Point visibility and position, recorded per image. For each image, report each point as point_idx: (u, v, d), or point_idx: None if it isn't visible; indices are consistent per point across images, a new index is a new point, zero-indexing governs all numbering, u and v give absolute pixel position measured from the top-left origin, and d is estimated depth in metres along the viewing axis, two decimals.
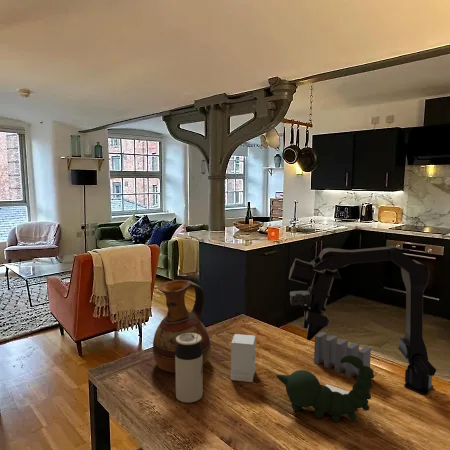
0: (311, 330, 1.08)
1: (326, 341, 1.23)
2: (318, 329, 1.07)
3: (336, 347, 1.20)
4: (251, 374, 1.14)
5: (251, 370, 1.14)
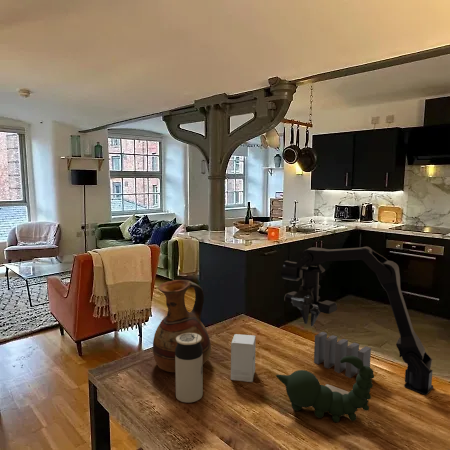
0: (315, 317, 1.28)
1: (326, 341, 1.23)
2: (318, 313, 1.29)
3: (336, 347, 1.20)
4: (251, 374, 1.14)
5: (251, 370, 1.14)
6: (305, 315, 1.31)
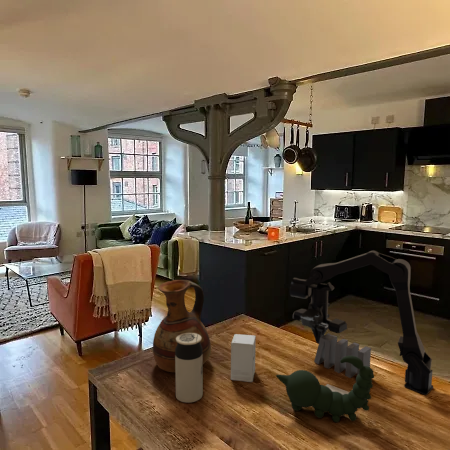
0: (321, 334, 1.27)
1: (326, 341, 1.23)
2: (325, 330, 1.27)
3: (336, 347, 1.20)
4: (251, 374, 1.14)
5: (251, 370, 1.14)
6: (317, 334, 1.28)
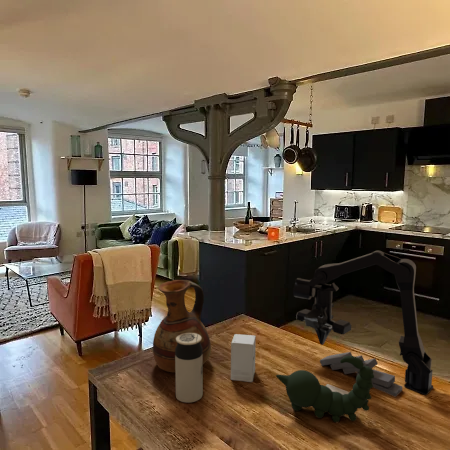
0: (325, 335, 1.25)
1: None
2: (329, 331, 1.26)
3: (364, 365, 1.13)
4: (251, 374, 1.14)
5: (251, 370, 1.14)
6: None
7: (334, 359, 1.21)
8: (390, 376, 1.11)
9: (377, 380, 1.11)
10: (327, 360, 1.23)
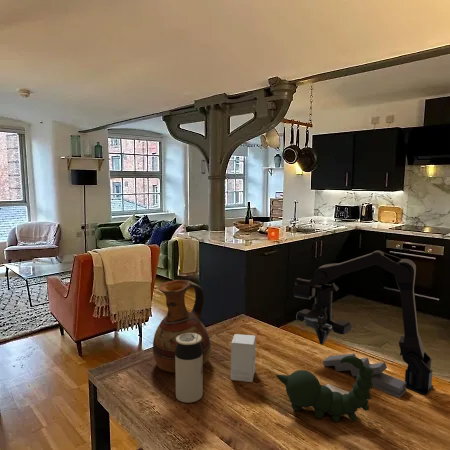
0: (325, 335, 1.25)
1: None
2: (329, 331, 1.26)
3: (375, 369, 1.12)
4: (251, 374, 1.14)
5: (251, 370, 1.14)
6: None
7: (339, 361, 1.20)
8: (401, 382, 1.09)
9: (388, 385, 1.09)
10: (331, 361, 1.22)
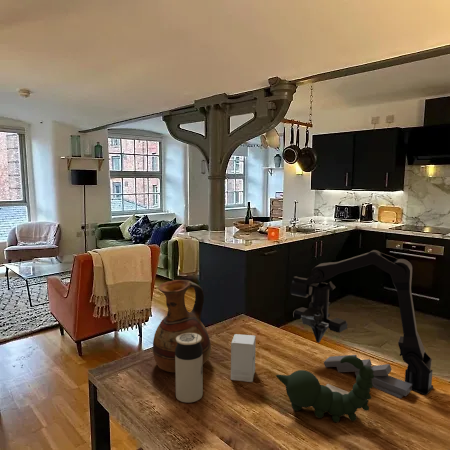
0: (321, 333, 1.26)
1: None
2: (325, 329, 1.27)
3: (381, 371, 1.12)
4: (251, 374, 1.14)
5: (251, 370, 1.14)
6: (317, 333, 1.27)
7: None
8: (407, 384, 1.08)
9: (394, 388, 1.08)
10: (332, 362, 1.22)
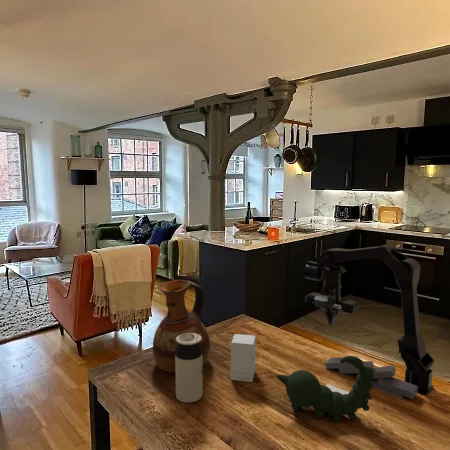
0: (334, 316, 1.30)
1: None
2: (337, 312, 1.31)
3: (386, 372, 1.11)
4: (251, 374, 1.14)
5: (251, 370, 1.14)
6: None
7: (341, 364, 1.19)
8: (413, 386, 1.07)
9: (400, 390, 1.06)
10: (333, 364, 1.21)
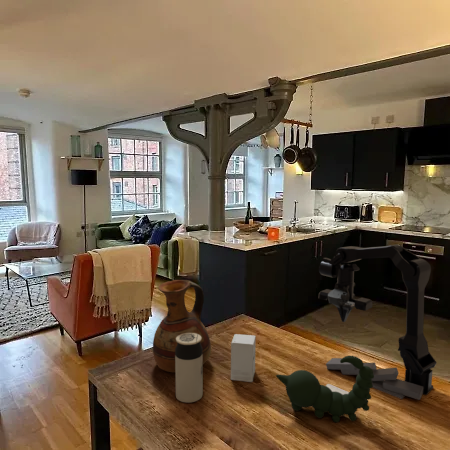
0: (347, 313, 1.32)
1: None
2: (350, 309, 1.33)
3: (389, 375, 1.10)
4: (251, 374, 1.14)
5: (251, 370, 1.14)
6: (342, 313, 1.33)
7: (343, 365, 1.18)
8: (419, 387, 1.07)
9: (407, 392, 1.05)
10: (335, 365, 1.20)
